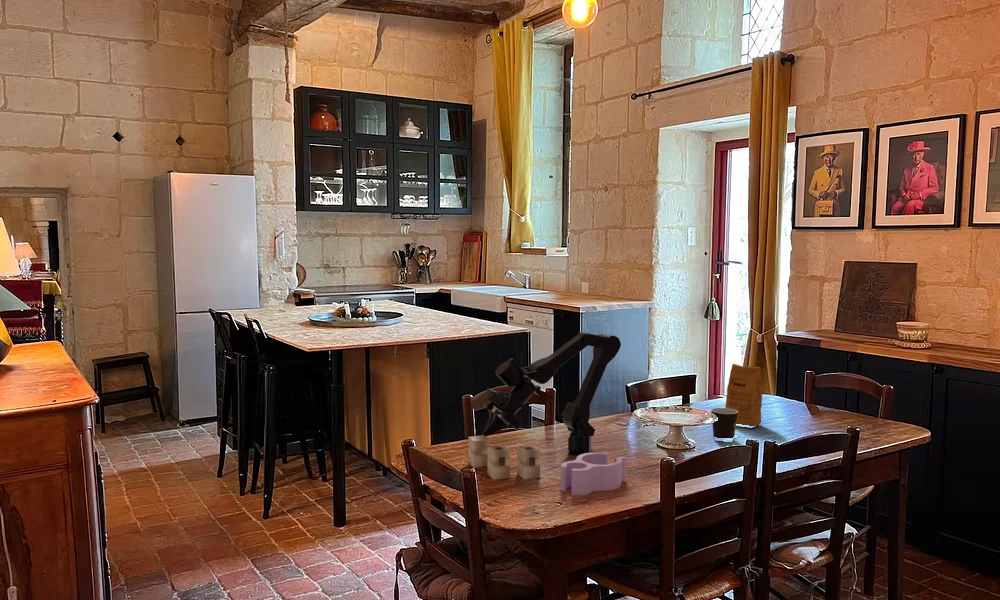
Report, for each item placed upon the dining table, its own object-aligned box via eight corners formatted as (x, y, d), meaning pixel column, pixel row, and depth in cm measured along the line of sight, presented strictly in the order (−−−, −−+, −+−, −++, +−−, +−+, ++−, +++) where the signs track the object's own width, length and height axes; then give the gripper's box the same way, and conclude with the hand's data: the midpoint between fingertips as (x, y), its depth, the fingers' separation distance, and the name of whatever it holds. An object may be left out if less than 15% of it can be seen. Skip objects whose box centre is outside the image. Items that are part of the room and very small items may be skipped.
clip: (583, 500, 194) (584, 474, 193) (550, 487, 203) (550, 462, 202) (633, 483, 207) (633, 459, 206) (599, 472, 216) (599, 449, 215)
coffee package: (733, 419, 278) (735, 361, 276) (765, 425, 269) (767, 365, 267) (720, 424, 271) (721, 364, 269) (752, 430, 262) (754, 369, 260)
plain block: (484, 461, 226) (484, 435, 225) (489, 466, 221) (489, 439, 220) (468, 462, 224) (468, 436, 223) (473, 467, 219) (474, 441, 219)
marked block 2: (533, 472, 216) (533, 444, 215) (540, 477, 211) (540, 449, 210) (517, 474, 214) (517, 446, 213) (524, 479, 209) (524, 451, 208)
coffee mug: (727, 445, 244) (728, 415, 243) (705, 439, 251) (706, 410, 250) (746, 438, 252) (747, 409, 251) (724, 433, 258) (725, 405, 257)
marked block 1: (503, 472, 215) (504, 444, 215) (510, 477, 211) (510, 449, 210) (487, 474, 214) (487, 446, 213) (493, 479, 209) (493, 451, 208)
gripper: (489, 373, 231) (455, 411, 228) (512, 385, 214) (475, 426, 211) (513, 396, 235) (479, 434, 232) (536, 410, 218) (501, 450, 215)
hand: (483, 435), depth 222 cm, fingers closed
